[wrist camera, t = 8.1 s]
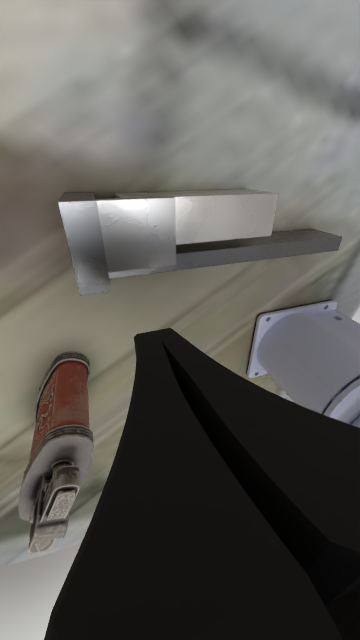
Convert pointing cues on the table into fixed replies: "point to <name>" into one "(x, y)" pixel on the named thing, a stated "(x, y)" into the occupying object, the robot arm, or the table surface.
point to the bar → (219, 213)
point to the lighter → (57, 451)
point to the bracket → (158, 240)
